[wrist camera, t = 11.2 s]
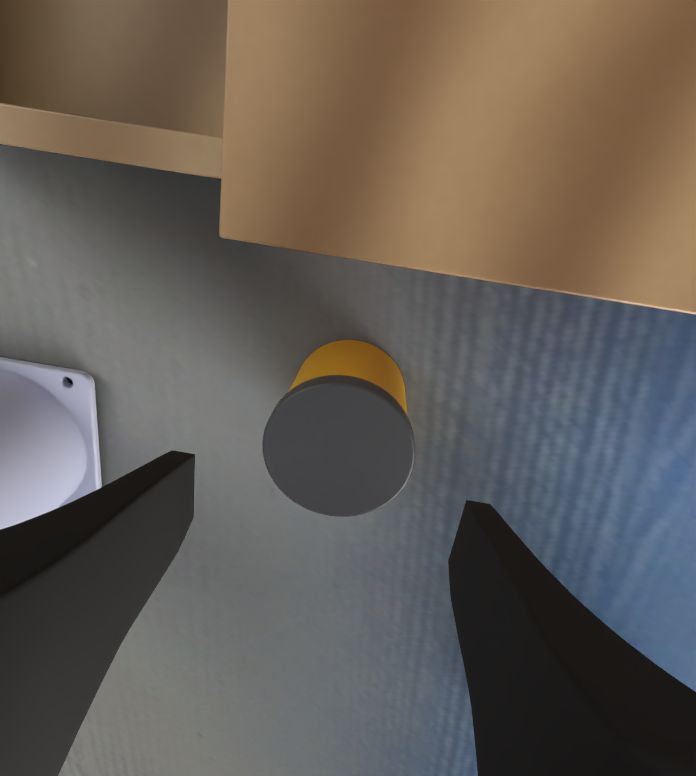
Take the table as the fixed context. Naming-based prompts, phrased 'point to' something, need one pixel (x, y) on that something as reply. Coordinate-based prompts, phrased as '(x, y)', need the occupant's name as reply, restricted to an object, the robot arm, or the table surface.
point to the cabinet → (470, 139)
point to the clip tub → (342, 432)
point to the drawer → (116, 80)
